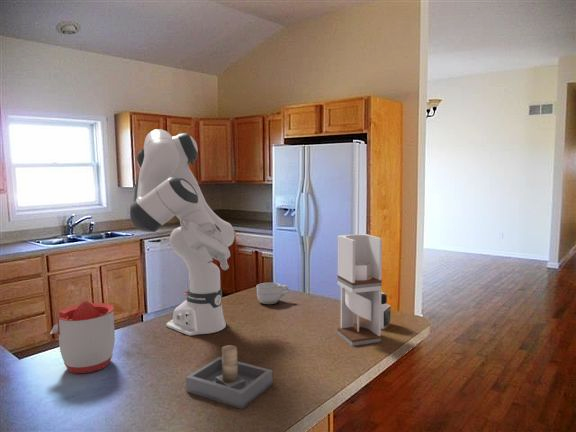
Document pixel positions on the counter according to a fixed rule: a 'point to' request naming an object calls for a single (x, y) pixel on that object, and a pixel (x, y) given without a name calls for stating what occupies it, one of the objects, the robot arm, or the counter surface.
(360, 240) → the white miniature tower model
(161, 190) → the robot arm
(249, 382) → the tray
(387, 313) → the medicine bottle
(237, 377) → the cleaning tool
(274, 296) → the teacup
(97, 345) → the citrus juicer
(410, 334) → the counter surface
